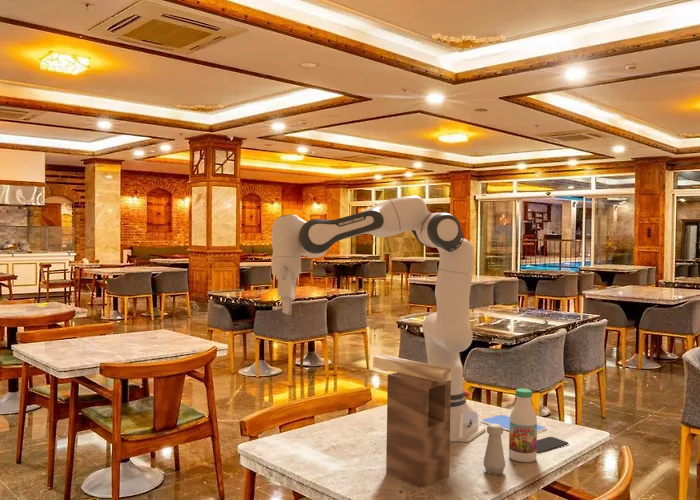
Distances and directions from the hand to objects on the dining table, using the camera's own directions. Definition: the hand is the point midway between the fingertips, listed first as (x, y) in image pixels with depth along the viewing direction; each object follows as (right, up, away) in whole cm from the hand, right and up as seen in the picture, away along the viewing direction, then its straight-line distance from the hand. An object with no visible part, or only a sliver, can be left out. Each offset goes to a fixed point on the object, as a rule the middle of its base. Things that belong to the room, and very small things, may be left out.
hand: (286, 313), depth 185 cm
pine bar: (+35, -14, -17) cm, 42 cm away
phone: (+79, -42, +6) cm, 90 cm away
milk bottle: (+69, -42, -6) cm, 81 cm away
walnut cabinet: (+37, -41, -19) cm, 59 cm away
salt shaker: (+58, -42, -16) cm, 74 cm away
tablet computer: (+74, -41, +25) cm, 89 cm away
